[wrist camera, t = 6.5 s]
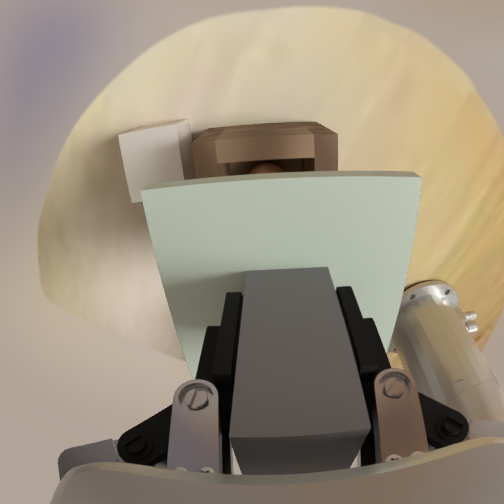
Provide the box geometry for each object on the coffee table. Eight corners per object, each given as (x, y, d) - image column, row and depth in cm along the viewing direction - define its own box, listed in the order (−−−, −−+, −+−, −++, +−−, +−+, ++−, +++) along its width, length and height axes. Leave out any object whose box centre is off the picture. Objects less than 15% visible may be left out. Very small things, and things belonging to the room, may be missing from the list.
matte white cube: (190, 118, 25) (176, 124, 21) (198, 179, 28) (186, 196, 24) (139, 126, 26) (118, 134, 21) (149, 185, 29) (131, 203, 24)
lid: (412, 171, 10) (553, 283, 4) (378, 357, 15) (412, 481, 9) (147, 184, 11) (19, 311, 4) (194, 366, 16) (167, 493, 9)
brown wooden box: (315, 121, 25) (337, 134, 18) (317, 218, 30) (334, 260, 23) (209, 128, 26) (191, 143, 19) (221, 223, 31) (210, 267, 24)
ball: (284, 157, 26) (288, 167, 23) (286, 193, 28) (289, 207, 25) (246, 160, 26) (244, 169, 23) (249, 195, 28) (248, 209, 25)
